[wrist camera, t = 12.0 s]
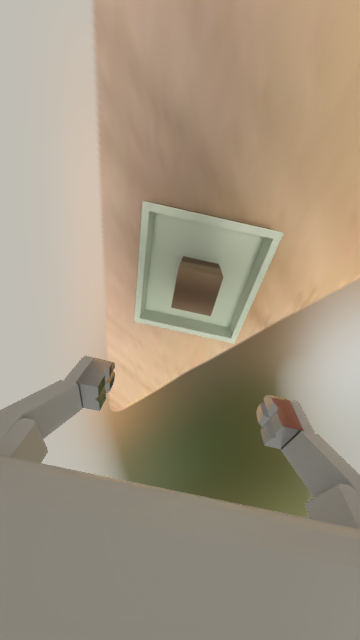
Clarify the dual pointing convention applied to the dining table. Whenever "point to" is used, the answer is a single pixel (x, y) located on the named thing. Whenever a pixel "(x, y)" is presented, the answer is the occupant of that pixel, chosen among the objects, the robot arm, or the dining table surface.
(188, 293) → the walnut block
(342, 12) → the dining table surface
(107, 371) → the robot arm
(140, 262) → the bin
